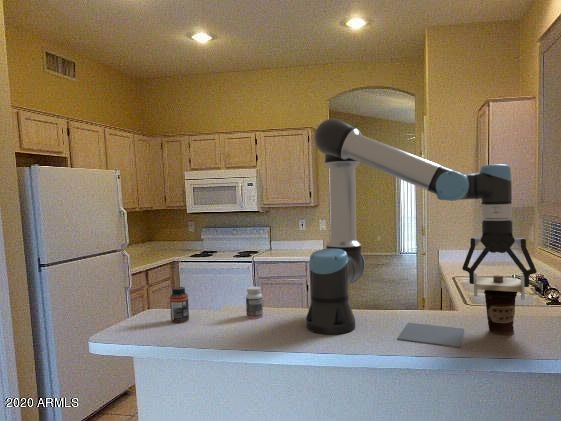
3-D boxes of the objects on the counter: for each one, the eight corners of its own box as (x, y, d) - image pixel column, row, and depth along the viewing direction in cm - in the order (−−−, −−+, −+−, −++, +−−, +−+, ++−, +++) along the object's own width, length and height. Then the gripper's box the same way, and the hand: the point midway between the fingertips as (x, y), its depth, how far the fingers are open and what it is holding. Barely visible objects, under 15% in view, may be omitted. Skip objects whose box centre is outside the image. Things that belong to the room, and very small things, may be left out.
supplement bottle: (175, 318, 139) (174, 285, 139) (192, 318, 138) (190, 285, 138) (167, 323, 133) (166, 289, 133) (184, 323, 132) (183, 289, 132)
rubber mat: (397, 339, 111) (397, 338, 110) (407, 323, 125) (407, 322, 125) (460, 347, 103) (460, 346, 103) (464, 329, 117) (464, 328, 117)
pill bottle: (248, 314, 141) (247, 286, 141) (264, 314, 140) (263, 286, 140) (245, 319, 135) (244, 289, 135) (261, 318, 135) (260, 289, 135)
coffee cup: (523, 337, 109) (522, 290, 108) (490, 336, 110) (489, 289, 110) (511, 327, 117) (510, 283, 117) (481, 327, 119) (480, 283, 119)
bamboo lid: (476, 289, 111) (475, 278, 111) (477, 281, 121) (477, 272, 121) (522, 292, 106) (521, 280, 106) (519, 284, 116) (519, 273, 116)
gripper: (450, 220, 115) (452, 296, 116) (548, 219, 104) (549, 303, 105) (453, 219, 122) (454, 291, 122) (544, 218, 111) (546, 297, 111)
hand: (498, 297), depth 114 cm, fingers closed on bamboo lid, 11 cm apart
